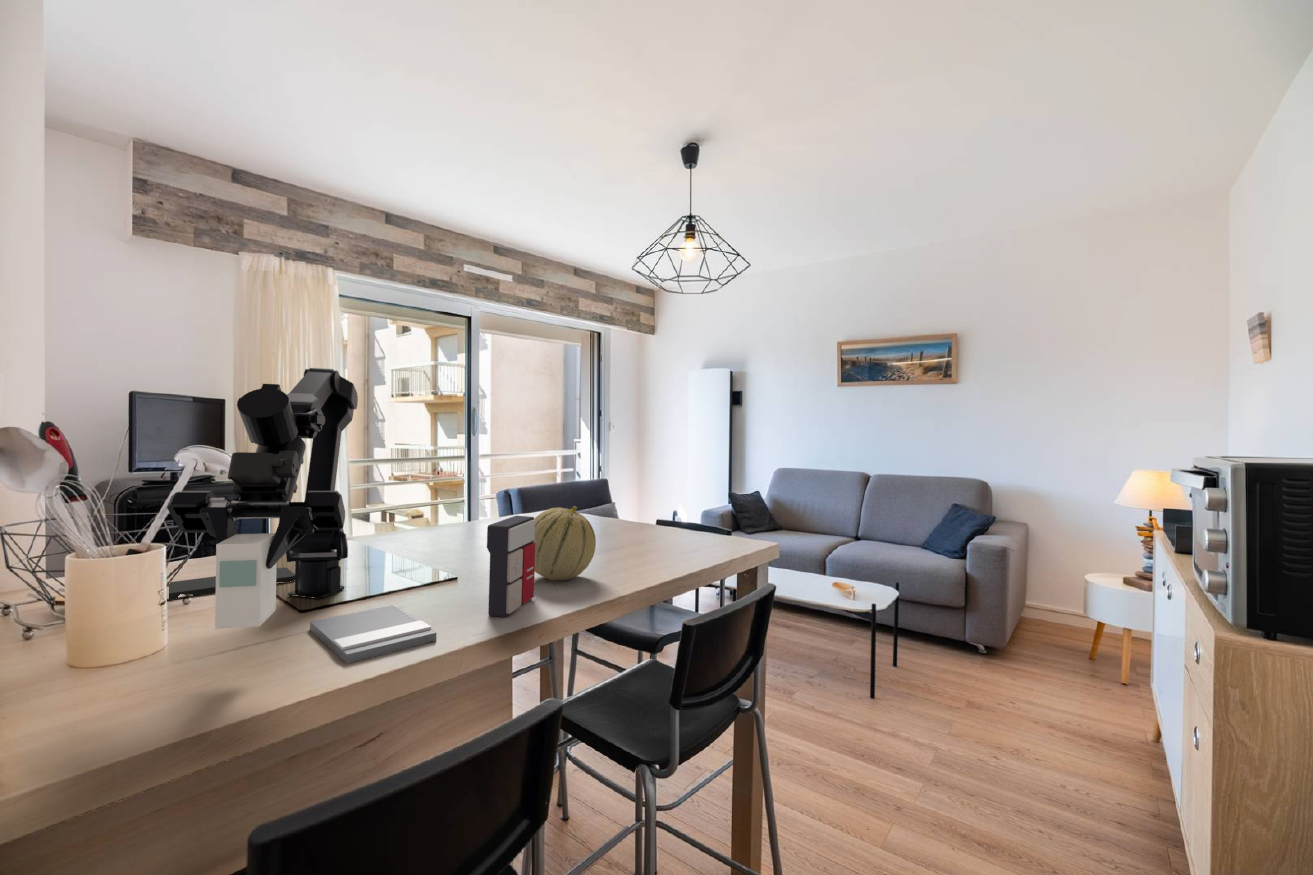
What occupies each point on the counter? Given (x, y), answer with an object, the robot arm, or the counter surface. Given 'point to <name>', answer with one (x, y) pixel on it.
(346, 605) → the counter surface
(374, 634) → the grey flat rectangular slab
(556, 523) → the cantaloupe
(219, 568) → the block
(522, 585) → the grey red panelled box
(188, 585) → the smart home device
